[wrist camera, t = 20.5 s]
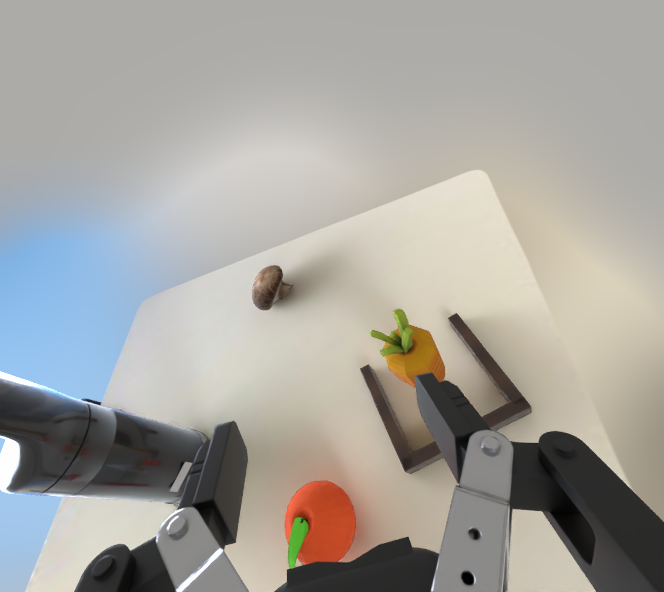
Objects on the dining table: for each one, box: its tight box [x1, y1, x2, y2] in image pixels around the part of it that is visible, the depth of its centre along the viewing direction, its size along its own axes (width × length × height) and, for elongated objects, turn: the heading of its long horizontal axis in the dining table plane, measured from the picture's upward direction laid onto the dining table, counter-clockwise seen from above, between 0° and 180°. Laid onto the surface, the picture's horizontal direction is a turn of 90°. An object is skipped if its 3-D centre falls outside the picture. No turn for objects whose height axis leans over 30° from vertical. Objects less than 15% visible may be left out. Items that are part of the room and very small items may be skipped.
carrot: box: [370, 309, 445, 388], centre depth 31 cm, size 5×5×15 cm
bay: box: [360, 313, 532, 474], centre depth 35 cm, size 12×13×2 cm
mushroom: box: [252, 266, 293, 310], centre depth 55 cm, size 8×8×6 cm
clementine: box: [285, 481, 356, 569], centre depth 31 cm, size 8×7×7 cm
